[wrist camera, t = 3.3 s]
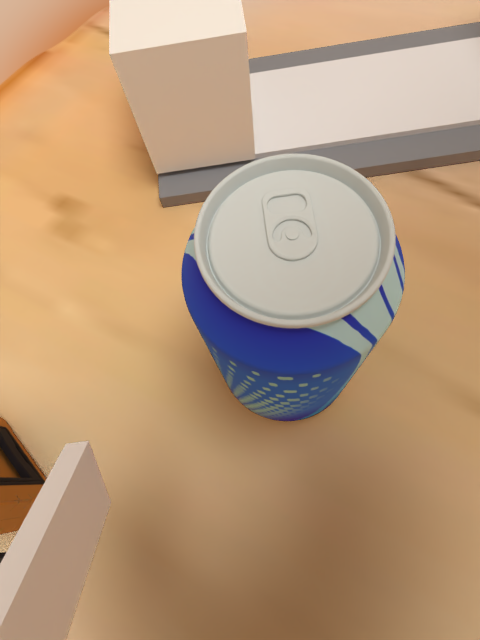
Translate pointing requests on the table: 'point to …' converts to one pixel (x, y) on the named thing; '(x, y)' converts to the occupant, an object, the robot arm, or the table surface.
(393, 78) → the rail board
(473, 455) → the table surface
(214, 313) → the beer can
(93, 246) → the table surface
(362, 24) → the table surface
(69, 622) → the robot arm
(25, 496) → the multimeter
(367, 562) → the table surface
